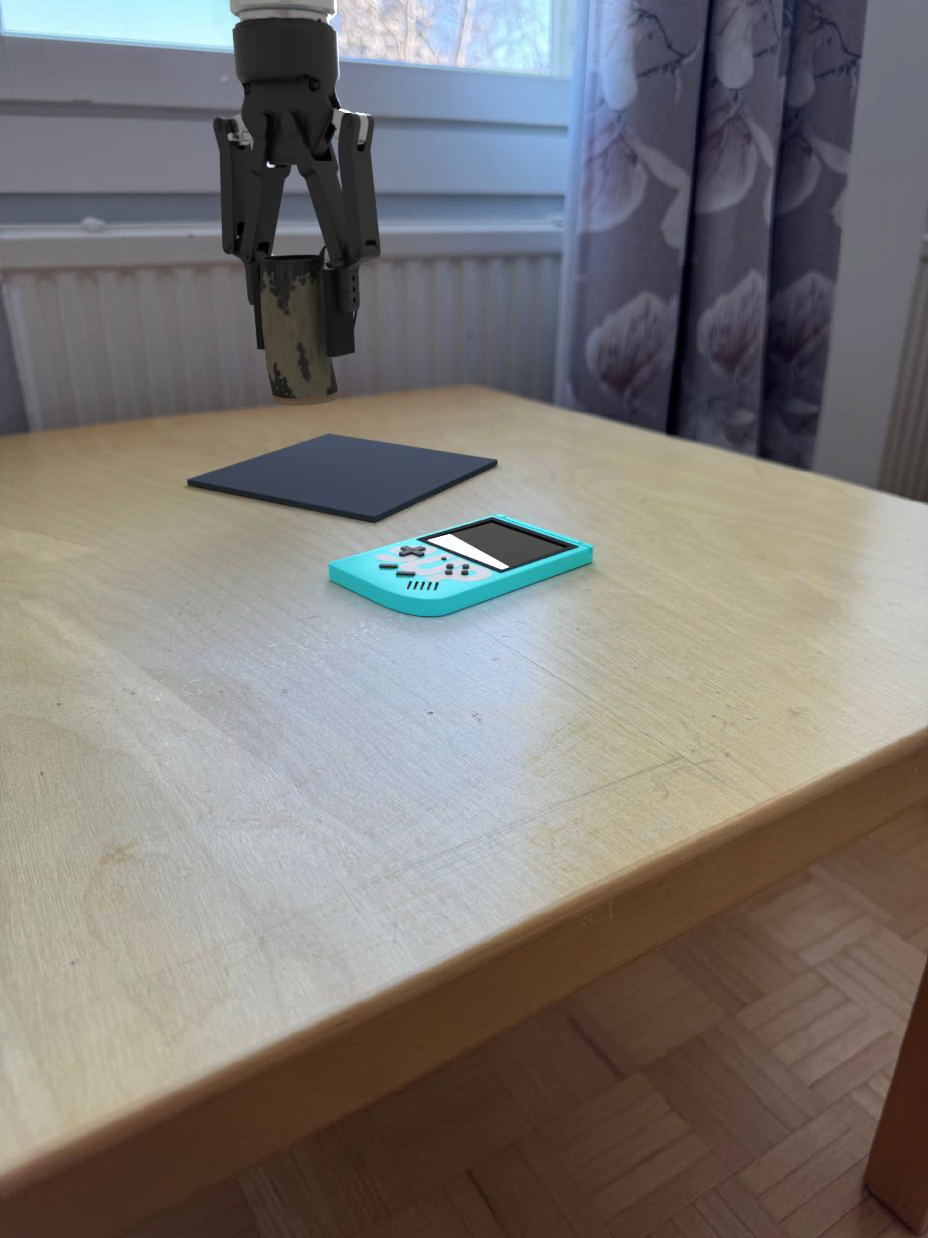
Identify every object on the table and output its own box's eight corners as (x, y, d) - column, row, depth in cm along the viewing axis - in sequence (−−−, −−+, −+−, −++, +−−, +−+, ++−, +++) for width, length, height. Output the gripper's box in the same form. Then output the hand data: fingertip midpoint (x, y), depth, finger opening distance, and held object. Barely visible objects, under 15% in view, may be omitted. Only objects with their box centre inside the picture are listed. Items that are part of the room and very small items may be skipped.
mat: (187, 484, 84) (186, 479, 84) (328, 437, 100) (328, 433, 100) (374, 522, 75) (374, 516, 75) (497, 464, 91) (497, 459, 90)
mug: (267, 407, 78) (249, 248, 72) (272, 392, 83) (256, 242, 77) (366, 402, 78) (355, 244, 73) (365, 388, 83) (355, 239, 78)
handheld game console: (324, 577, 64) (323, 558, 64) (496, 526, 74) (496, 509, 74) (421, 624, 58) (420, 603, 57) (596, 561, 67) (597, 542, 67)
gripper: (427, 18, 68) (431, 354, 77) (220, 37, 77) (246, 336, 86) (364, 2, 62) (376, 368, 71) (148, 25, 71) (185, 347, 80)
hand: (305, 350), depth 79 cm, fingers open, 6 cm apart
